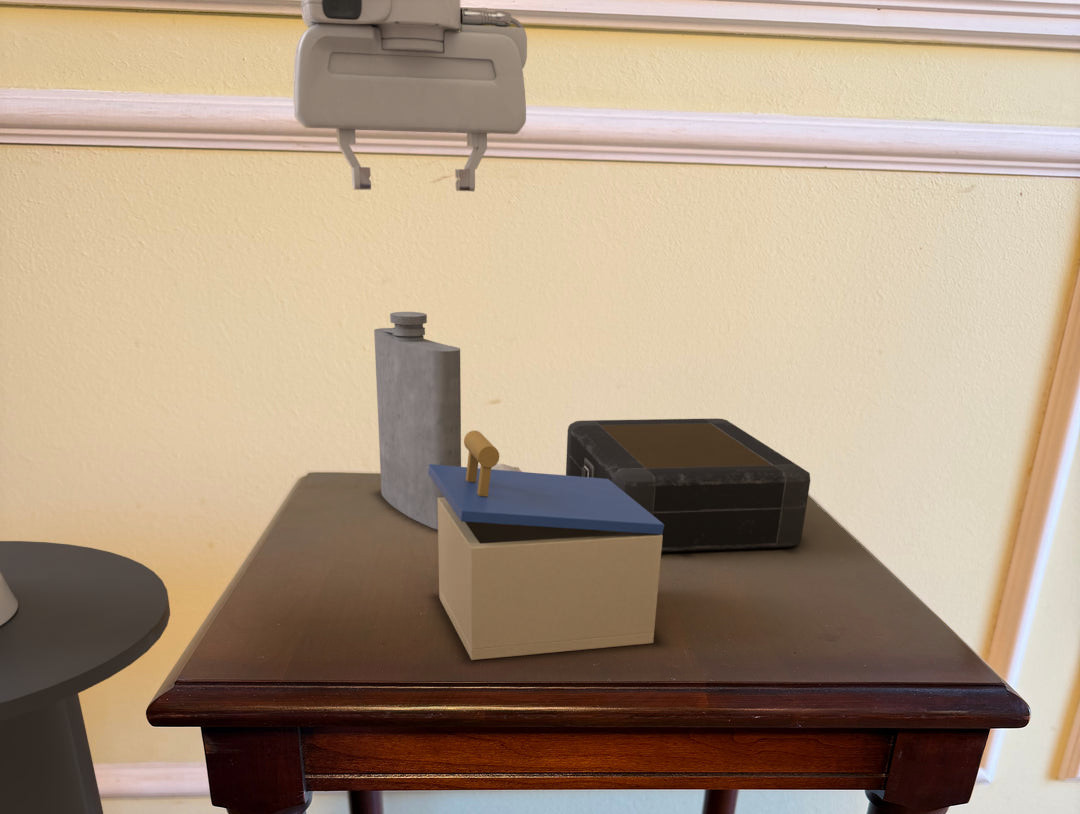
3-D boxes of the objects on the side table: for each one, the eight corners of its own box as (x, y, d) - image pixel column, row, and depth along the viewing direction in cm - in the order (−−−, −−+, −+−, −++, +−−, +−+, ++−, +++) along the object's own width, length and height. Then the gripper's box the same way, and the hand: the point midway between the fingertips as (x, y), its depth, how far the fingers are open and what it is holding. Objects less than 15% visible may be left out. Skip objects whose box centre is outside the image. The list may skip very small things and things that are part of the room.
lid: (460, 521, 72) (468, 456, 70) (428, 473, 83) (433, 416, 81) (662, 534, 77) (675, 474, 75) (606, 488, 88) (616, 434, 86)
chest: (471, 660, 77) (470, 547, 73) (439, 598, 88) (437, 497, 84) (653, 643, 81) (663, 535, 77) (601, 585, 92) (607, 488, 88)
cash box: (557, 486, 120) (559, 419, 117) (720, 481, 124) (728, 416, 120) (610, 557, 99) (615, 478, 95) (806, 549, 102) (818, 473, 99)
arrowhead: (513, 452, 125) (547, 481, 118) (513, 466, 126) (547, 496, 119) (461, 458, 123) (493, 488, 115) (461, 473, 124) (493, 504, 116)
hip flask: (466, 528, 105) (465, 322, 96) (431, 533, 104) (426, 323, 94) (402, 489, 117) (396, 302, 108) (369, 493, 115) (360, 303, 106)
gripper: (518, 16, 91) (516, 191, 98) (283, 2, 86) (298, 187, 93) (537, 8, 86) (534, 193, 92) (288, -8, 81) (303, 189, 87)
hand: (414, 190), depth 92 cm, fingers open, 8 cm apart
